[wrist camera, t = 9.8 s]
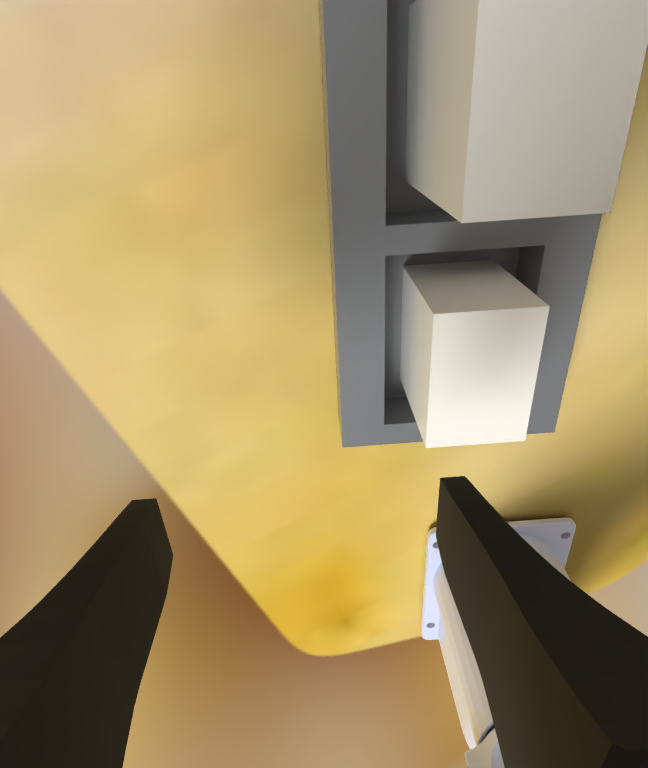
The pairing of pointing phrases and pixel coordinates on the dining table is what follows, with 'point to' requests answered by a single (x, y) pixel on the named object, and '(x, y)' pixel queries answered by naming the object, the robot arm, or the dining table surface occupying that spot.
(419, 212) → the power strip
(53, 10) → the dining table surface
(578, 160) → the plug
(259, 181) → the dining table surface
